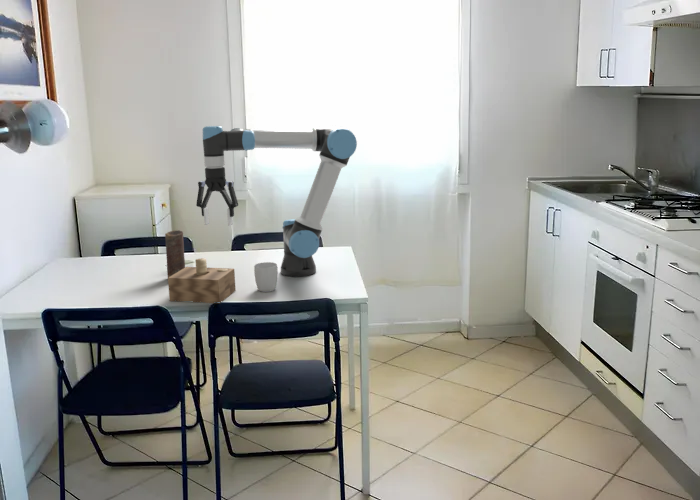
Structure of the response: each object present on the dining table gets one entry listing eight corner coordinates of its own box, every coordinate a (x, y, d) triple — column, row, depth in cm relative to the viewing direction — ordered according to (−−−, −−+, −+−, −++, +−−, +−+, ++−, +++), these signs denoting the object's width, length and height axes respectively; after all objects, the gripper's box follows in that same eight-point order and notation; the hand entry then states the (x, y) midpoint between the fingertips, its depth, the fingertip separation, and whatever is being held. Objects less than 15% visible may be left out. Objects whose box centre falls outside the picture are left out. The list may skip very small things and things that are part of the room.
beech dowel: (209, 281, 259) (207, 258, 257) (205, 284, 255) (203, 261, 253) (199, 280, 260) (198, 258, 258) (195, 283, 256) (193, 260, 254)
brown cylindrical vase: (189, 277, 285) (186, 230, 280) (178, 281, 278) (174, 234, 273) (175, 275, 288) (171, 229, 283) (164, 279, 281) (160, 233, 277)
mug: (279, 292, 262) (278, 267, 259) (256, 293, 260) (254, 268, 258) (276, 283, 274) (275, 259, 271) (253, 284, 272) (252, 260, 270)
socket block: (235, 290, 264) (234, 268, 262) (219, 303, 249) (218, 279, 247) (188, 288, 268) (186, 266, 266) (169, 300, 253) (167, 277, 251)
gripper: (245, 166, 260) (248, 223, 265) (192, 165, 264) (196, 222, 269) (238, 168, 253) (241, 227, 258) (184, 168, 257) (188, 225, 262)
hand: (218, 224), depth 264 cm, fingers open, 9 cm apart
